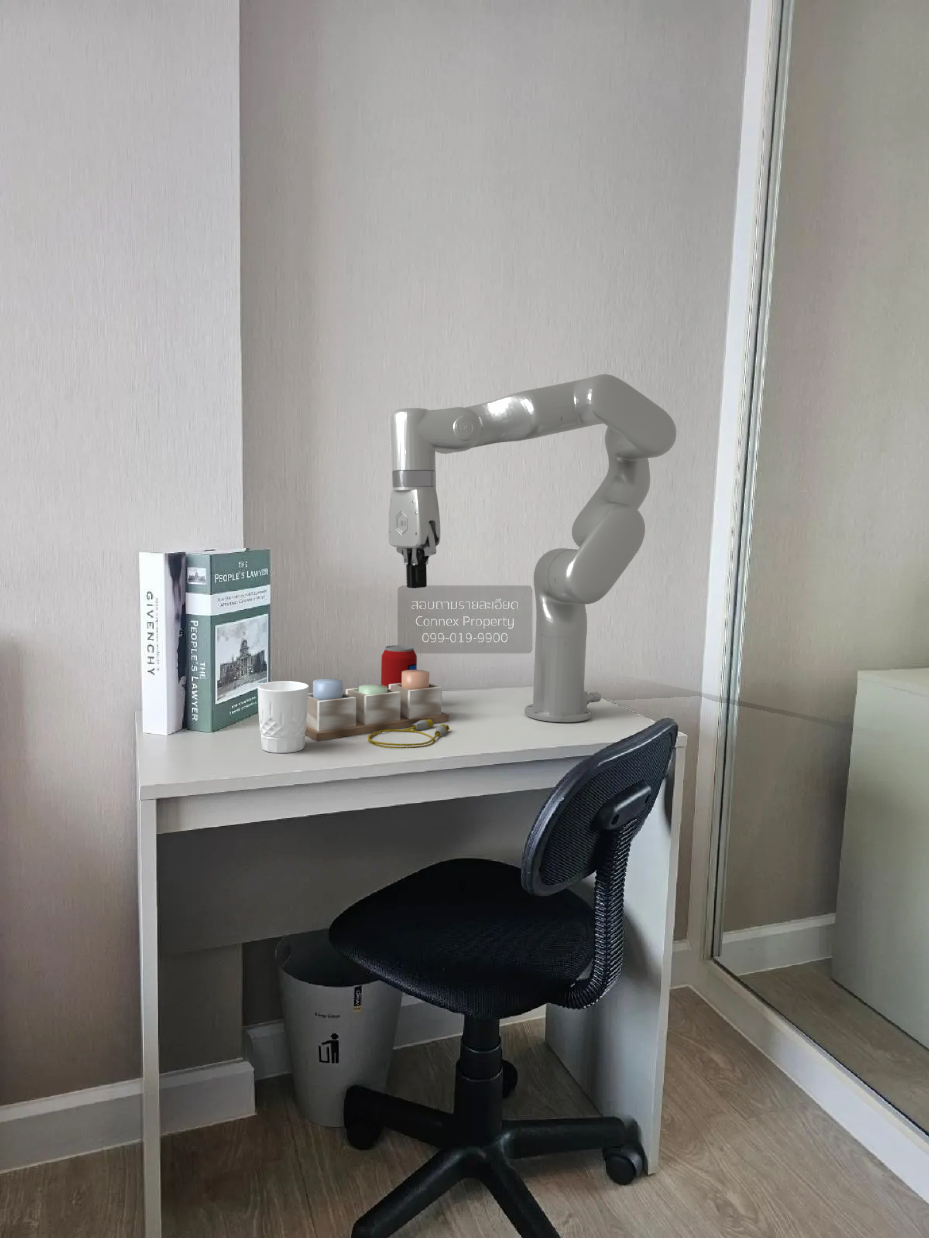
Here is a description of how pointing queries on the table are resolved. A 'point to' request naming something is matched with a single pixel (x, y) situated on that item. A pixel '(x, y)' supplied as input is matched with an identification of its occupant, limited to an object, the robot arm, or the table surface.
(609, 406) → the robot arm
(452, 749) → the table surface
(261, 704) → the white cup
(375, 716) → the button board
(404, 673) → the pink rounded cylinder
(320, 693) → the slate blue cap
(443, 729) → the extension cord
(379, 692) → the sage green cap
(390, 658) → the beverage can
